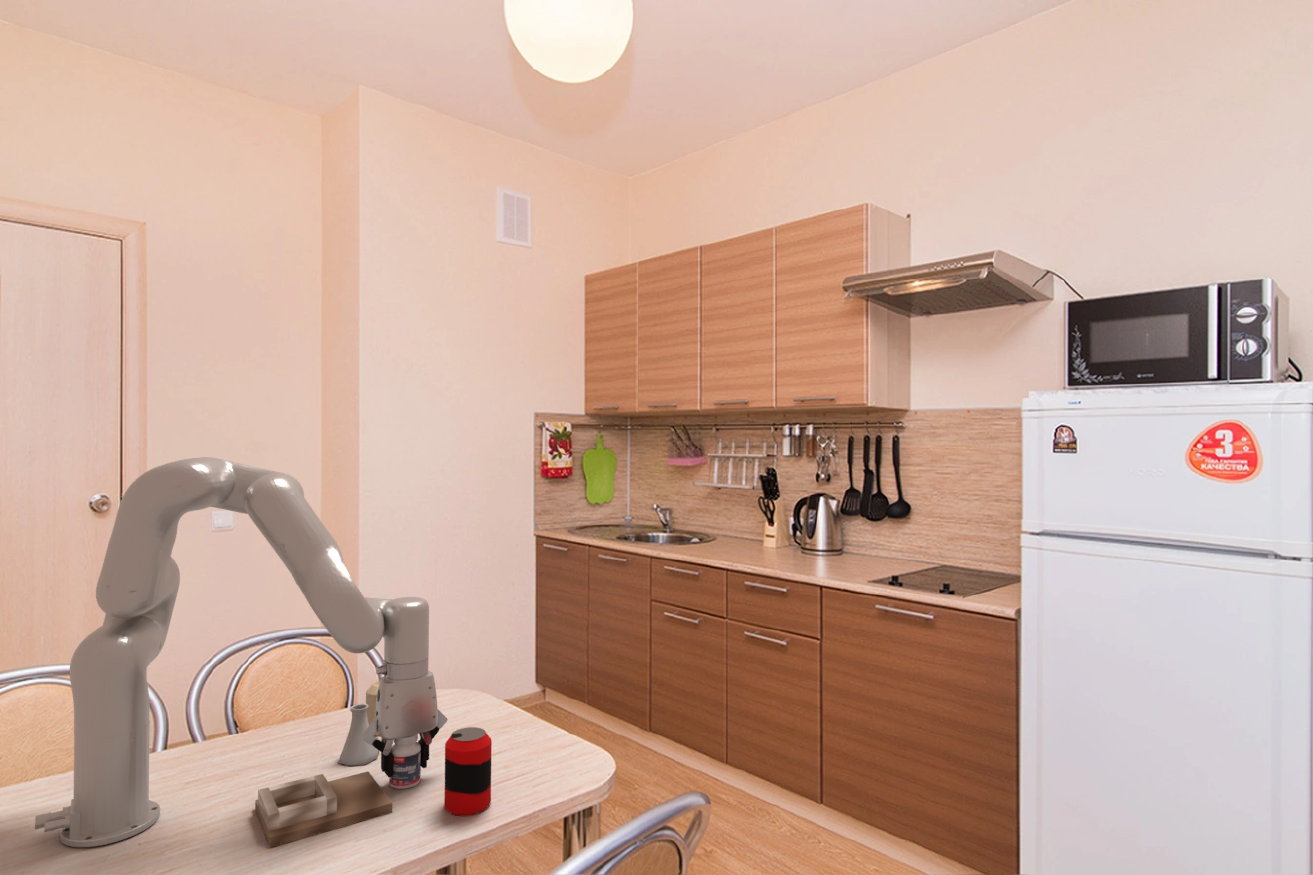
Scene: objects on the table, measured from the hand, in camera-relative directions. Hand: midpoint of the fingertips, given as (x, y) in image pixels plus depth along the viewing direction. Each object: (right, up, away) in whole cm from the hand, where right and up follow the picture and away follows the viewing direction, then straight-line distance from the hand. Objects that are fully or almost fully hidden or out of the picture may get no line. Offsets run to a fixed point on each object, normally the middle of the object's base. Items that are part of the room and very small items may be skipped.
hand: (405, 768), depth 130 cm
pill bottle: (0, -3, 0) cm, 3 cm away
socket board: (-10, -2, -10) cm, 14 cm away
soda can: (+13, -3, -8) cm, 15 cm away
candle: (-13, -3, +23) cm, 26 cm away
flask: (-12, -3, +10) cm, 16 cm away
